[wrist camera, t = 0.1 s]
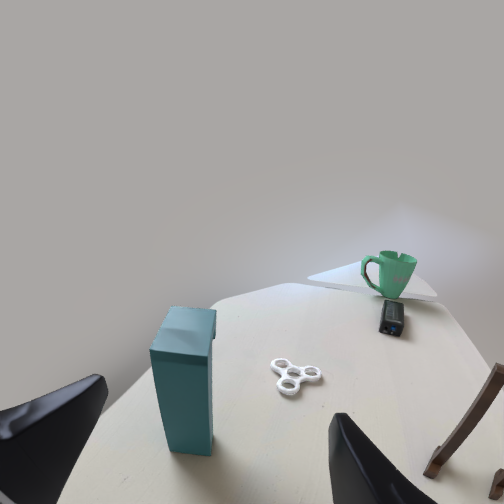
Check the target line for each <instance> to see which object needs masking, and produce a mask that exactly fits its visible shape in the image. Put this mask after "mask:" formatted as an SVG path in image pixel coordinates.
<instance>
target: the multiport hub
mask: <svg viewBox="0 0 504 504" xmlns="http://www.w3.org/2000/svg"><path fill="white" fill-rule="evenodd" d="M403 327H404V304H402V303H398V302H394V301H389V300H385V302H384V305H383V309H382V315H381V321H380V327H379V332H381V333H385V334H390V335H394V336H398V337H400V336H401V333H402V330H403Z"/></svg>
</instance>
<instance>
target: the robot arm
mask: <svg viewBox="0 0 504 504" xmlns="http://www.w3.org/2000/svg"><path fill="white" fill-rule="evenodd" d="M107 396H108V388H107V384H106V381H105V378H104V377H103V376H101V375H98V374H92V375H90V376H88V377H86V378H83V379H81V380H79V381H77V382H74V383H72V384H70V385H67V386H65V387H63V388H60V389H58V390H56V391H53V392H51V393H49V394H46V395H44V396H41V397H39V398H36V399H34V400H31V401H30V402H26V403H24V404H21V405H18V406H15V407H13V408H9V409H6V410H2V411H0V504H56V503H57V501H58V499H59V497H60V495H61V492H62V490H63V488H64V486H65V484H66V482H67V480H68V478H69V476H70V473H71V471H72V469H73V467H74V465H75V463H76V461H77V459H78V458H79V456H80V454H81V452H82V450H83V448H84V446H85V444H86V442H87V440H88V438H89V436H90V435H91V433H92V431H93V429H94V427H95V425H96V423H97V421H98V419H99V416H100V414H101V411H102V408H103V406H104V404H105V401H106V399H107ZM329 470H330V478H331V486H332V494H333V503H334V504H438V503H436V502H435V501H434V500H432V499H431V498H430V497H428V496H427V495H426V494H424V493H423V492H422V491H420V490H419V489H418V488H417V487H416V486H414V485H413V484H412V483H411V482H410V481H409V480H408V479H407V478H406V477H405V476H404V475H403V474H402V473H401V472H400V471H399V470H398V469H397V470H396V467H395V466H394V465H393V464H392V463H391V462H390V461H389V460H388V459H387V458H386V457H385V455H384V454H383V453H382V452H381V451H380V450H379V449H378V448H377V447H376V446H375V445H374V444H373V442H372V441H371V440H370V439H369V438H368V437H367V436H366V435H365V434H364V433H363V431H362V430H361V429H360V428H359V427H358V426H357V425H356V424H355V422H354V421H353V420H352V419H351V418H350V417H349V416H348V415H347V414H346V413H335V414H334V416H333V419H332V421H331V423H330V426H329Z"/></svg>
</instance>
